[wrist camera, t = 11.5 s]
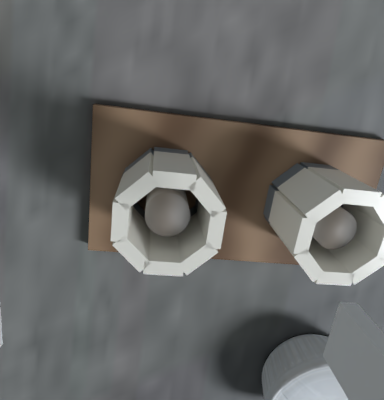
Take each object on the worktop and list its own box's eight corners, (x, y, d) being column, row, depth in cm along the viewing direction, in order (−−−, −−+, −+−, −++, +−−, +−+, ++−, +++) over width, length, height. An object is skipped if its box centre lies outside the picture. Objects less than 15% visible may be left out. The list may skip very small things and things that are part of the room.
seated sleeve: (354, 168, 29) (412, 195, 22) (332, 242, 31) (379, 287, 24) (275, 159, 28) (311, 185, 21) (258, 236, 30) (285, 281, 23)
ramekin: (235, 390, 38) (246, 438, 33) (283, 311, 34) (303, 350, 30) (319, 411, 40) (341, 459, 35) (371, 340, 37) (404, 380, 32)
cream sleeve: (214, 153, 27) (232, 178, 20) (202, 233, 29) (215, 278, 23) (125, 143, 26) (114, 166, 20) (120, 226, 28) (108, 271, 22)
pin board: (383, 139, 29) (443, 156, 23) (344, 262, 33) (386, 305, 27) (95, 103, 26) (75, 112, 20) (90, 244, 30) (72, 287, 24)
